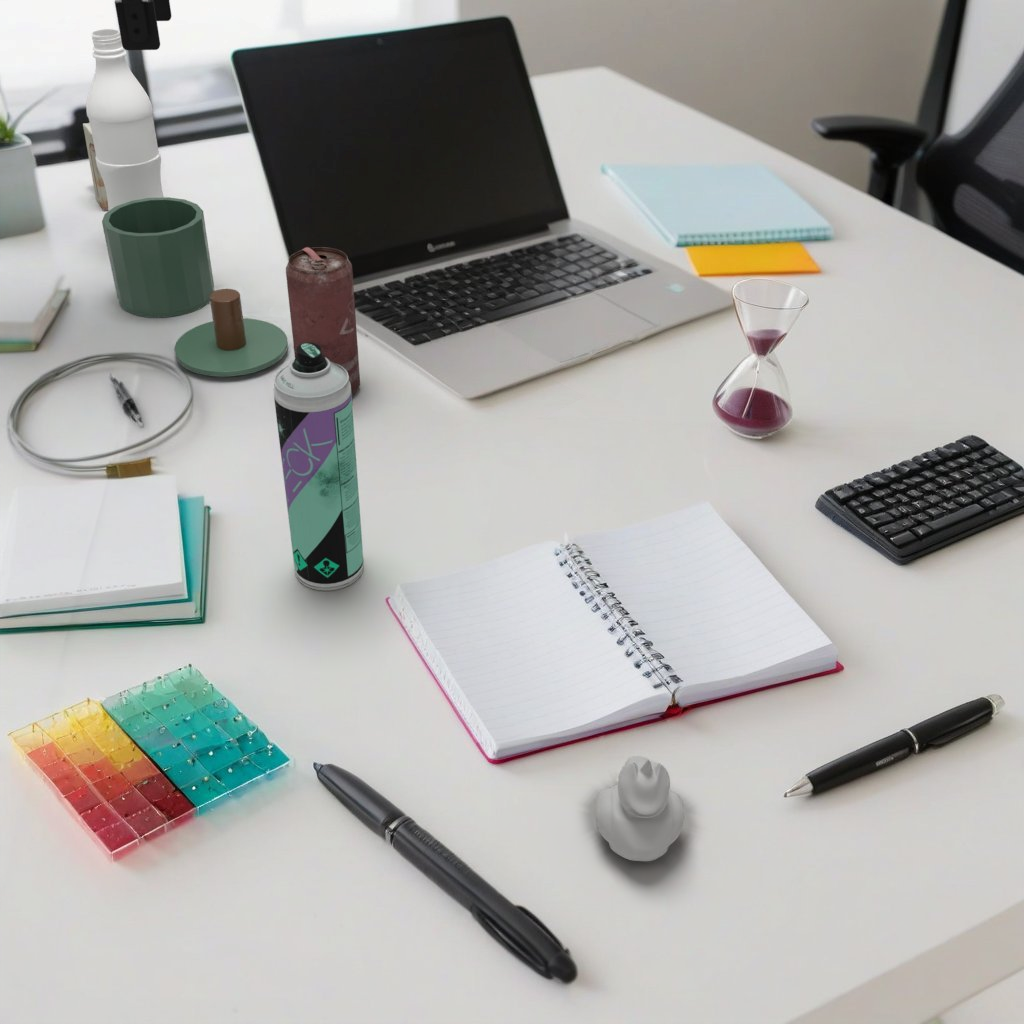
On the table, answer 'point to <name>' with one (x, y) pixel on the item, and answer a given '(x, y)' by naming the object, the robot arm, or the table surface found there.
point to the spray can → (319, 469)
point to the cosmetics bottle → (95, 169)
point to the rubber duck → (640, 811)
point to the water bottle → (122, 125)
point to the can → (324, 306)
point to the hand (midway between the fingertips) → (148, 34)
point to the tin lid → (230, 341)
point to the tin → (159, 256)
